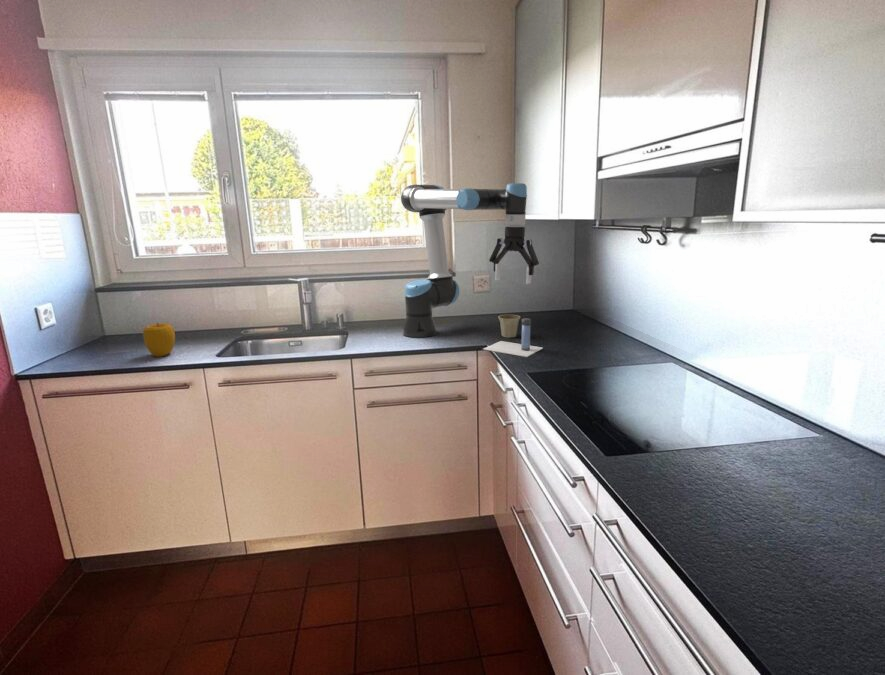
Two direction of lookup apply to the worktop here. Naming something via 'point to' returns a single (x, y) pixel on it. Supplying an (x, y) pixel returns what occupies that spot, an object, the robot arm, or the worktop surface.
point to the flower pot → (509, 325)
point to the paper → (512, 349)
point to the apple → (159, 339)
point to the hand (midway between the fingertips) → (512, 281)
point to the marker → (525, 334)
